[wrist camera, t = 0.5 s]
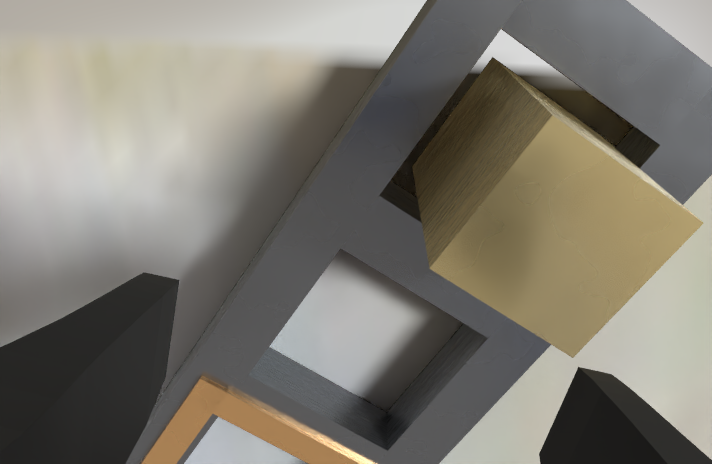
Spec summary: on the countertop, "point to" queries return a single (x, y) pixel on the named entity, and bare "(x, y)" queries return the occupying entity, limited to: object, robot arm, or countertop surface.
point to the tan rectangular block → (541, 212)
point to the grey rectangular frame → (420, 237)
